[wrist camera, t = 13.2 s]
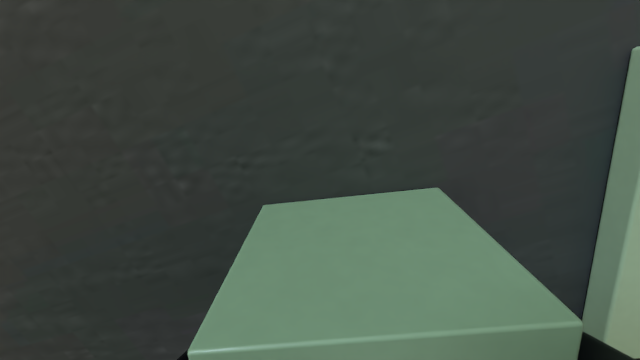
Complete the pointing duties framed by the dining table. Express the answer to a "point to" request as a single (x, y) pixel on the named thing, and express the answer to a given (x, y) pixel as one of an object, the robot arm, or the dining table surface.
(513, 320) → the sage block
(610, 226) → the sage pad
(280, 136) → the dining table surface
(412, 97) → the dining table surface
